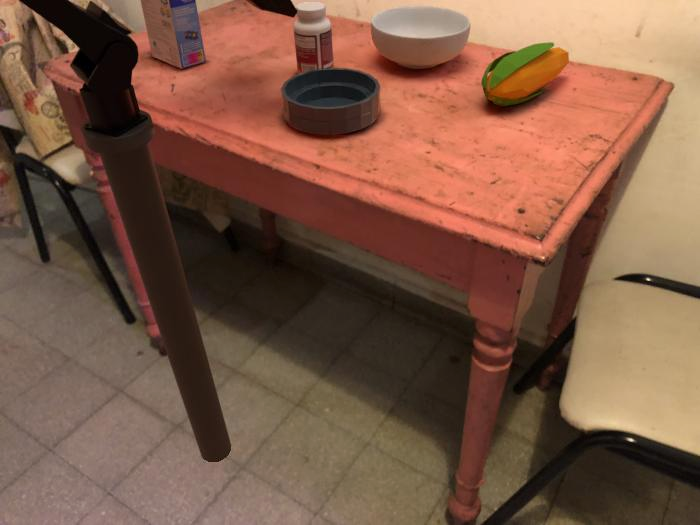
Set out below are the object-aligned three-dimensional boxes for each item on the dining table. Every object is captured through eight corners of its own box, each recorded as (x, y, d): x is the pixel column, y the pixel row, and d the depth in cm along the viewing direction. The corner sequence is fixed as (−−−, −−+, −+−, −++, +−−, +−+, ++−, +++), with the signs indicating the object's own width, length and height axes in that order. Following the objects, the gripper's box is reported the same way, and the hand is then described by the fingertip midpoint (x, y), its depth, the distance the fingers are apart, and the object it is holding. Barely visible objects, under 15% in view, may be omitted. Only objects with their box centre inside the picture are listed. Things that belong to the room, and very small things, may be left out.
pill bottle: (326, 64, 103) (323, -3, 96) (339, 76, 99) (336, 8, 92) (292, 70, 102) (286, 3, 95) (304, 83, 97) (298, 14, 90)
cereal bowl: (449, 86, 95) (453, 42, 90) (355, 72, 100) (354, 29, 96) (478, 50, 106) (482, 9, 102) (392, 39, 112) (393, -1, 108)
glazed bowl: (353, 146, 81) (352, 116, 78) (265, 127, 86) (262, 97, 83) (394, 104, 90) (395, 76, 87) (313, 89, 95) (311, 62, 92)
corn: (471, 55, 84) (551, 21, 94) (463, 104, 89) (539, 67, 99) (514, 73, 80) (592, 35, 90) (503, 123, 85) (578, 82, 95)
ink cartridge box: (208, 61, 106) (193, -26, 97) (183, 70, 103) (164, -19, 94) (177, 49, 111) (159, -35, 102) (151, 57, 108) (130, -29, 99)
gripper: (265, -110, 71) (343, -28, 83) (201, -125, 83) (277, -51, 95) (217, -28, 73) (300, 41, 85) (161, -54, 85) (241, 10, 97)
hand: (279, 7), depth 90 cm, fingers open, 9 cm apart
